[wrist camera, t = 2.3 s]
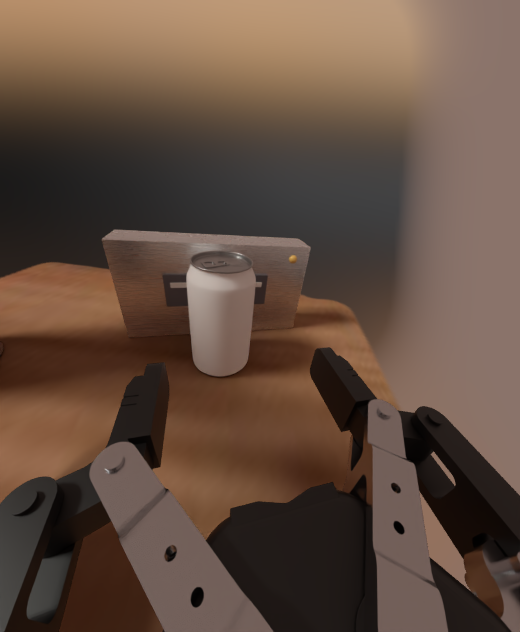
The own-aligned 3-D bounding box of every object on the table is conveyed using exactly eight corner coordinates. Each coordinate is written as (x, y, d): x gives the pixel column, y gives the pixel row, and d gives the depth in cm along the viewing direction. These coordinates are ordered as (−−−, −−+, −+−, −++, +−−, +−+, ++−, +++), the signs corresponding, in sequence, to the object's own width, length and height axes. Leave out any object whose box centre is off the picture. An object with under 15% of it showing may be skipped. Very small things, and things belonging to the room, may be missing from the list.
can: (257, 368, 26) (271, 270, 19) (202, 387, 23) (195, 277, 16) (235, 336, 30) (240, 247, 24) (186, 347, 27) (177, 250, 21)
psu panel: (127, 340, 27) (99, 240, 21) (135, 319, 31) (114, 229, 24) (293, 330, 33) (312, 248, 26) (284, 313, 36) (298, 238, 30)
